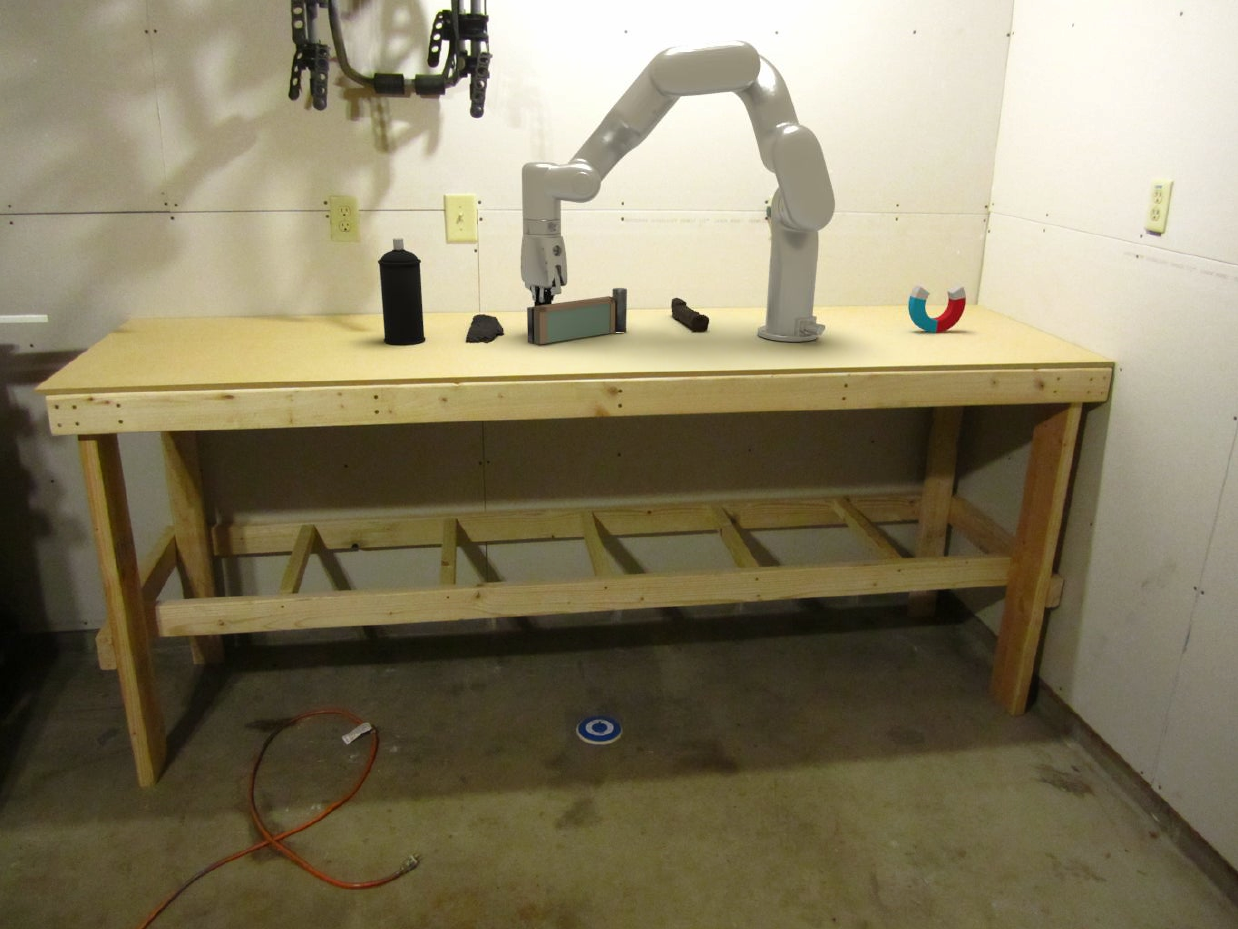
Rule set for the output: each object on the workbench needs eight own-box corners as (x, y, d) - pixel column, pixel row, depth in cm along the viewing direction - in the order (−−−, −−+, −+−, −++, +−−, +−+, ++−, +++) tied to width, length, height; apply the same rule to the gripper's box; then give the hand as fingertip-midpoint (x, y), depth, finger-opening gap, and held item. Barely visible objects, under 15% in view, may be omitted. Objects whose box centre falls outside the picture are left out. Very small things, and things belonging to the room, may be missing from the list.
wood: (502, 345, 187) (502, 330, 186) (465, 345, 187) (464, 330, 186) (508, 323, 208) (508, 309, 207) (474, 323, 207) (474, 309, 206)
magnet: (909, 333, 201) (915, 286, 197) (904, 330, 203) (910, 284, 200) (961, 332, 202) (968, 286, 199) (955, 330, 205) (962, 284, 201)
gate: (614, 332, 196) (615, 297, 194) (540, 344, 185) (539, 307, 182) (608, 330, 198) (609, 296, 195) (534, 342, 186) (533, 306, 184)
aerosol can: (434, 341, 188) (428, 239, 181) (399, 347, 182) (392, 242, 175) (409, 334, 193) (403, 235, 186) (375, 340, 188) (367, 238, 181)
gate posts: (629, 332, 198) (629, 289, 195) (534, 344, 186) (533, 299, 183) (621, 329, 200) (621, 287, 197) (527, 341, 188) (526, 296, 185)
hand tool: (709, 333, 200) (710, 311, 198) (691, 333, 199) (692, 311, 197) (684, 316, 217) (685, 296, 215) (667, 316, 216) (668, 296, 215)
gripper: (580, 230, 182) (580, 324, 188) (534, 223, 192) (536, 312, 199) (550, 232, 177) (551, 328, 184) (504, 225, 188) (506, 316, 194)
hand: (543, 320), depth 191 cm, fingers closed
